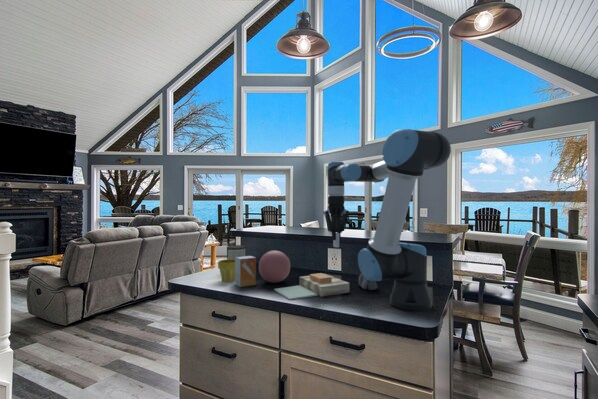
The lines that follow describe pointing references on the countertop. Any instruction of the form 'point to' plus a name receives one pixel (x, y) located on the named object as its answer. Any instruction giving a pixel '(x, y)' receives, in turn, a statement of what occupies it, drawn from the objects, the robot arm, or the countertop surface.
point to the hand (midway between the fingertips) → (336, 246)
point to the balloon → (274, 266)
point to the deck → (325, 286)
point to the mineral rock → (367, 283)
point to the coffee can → (235, 251)
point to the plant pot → (227, 270)
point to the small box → (245, 271)
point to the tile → (320, 278)
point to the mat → (295, 292)
